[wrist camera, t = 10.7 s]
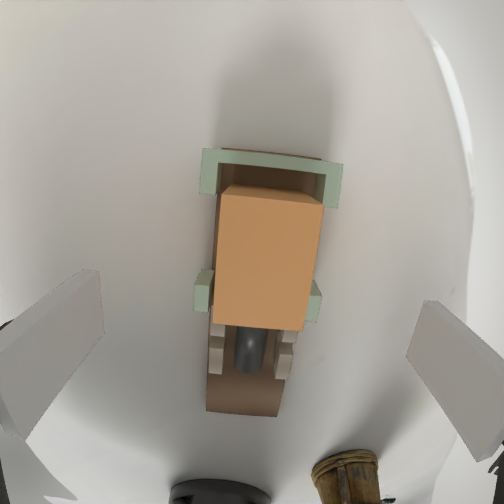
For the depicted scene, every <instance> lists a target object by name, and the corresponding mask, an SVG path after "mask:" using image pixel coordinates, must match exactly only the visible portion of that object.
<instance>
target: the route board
mask: <svg viewBox="0 0 504 504" xmlns="http://www.w3.org/2000/svg"><path fill="white" fill-rule="evenodd" d="M221 150H233V151H245V152H255V153H265V154H274V155H283V156H291V157H298V158H306V159H313V160H320V161H321V159H318V158H311V157H304V156H297V155H289V154H281V153H272V152H263V151H253V150H242V149H231V148H222V149H221ZM316 176H317V173H312V172H305V171H297V170H289V169H281V168H272V167H263V166H253V165H243V164H232V163H223V168H222V179H221V190H220V191H219V192H218V193H217V205H216V218H215V231H214V246H213V261H212V270H215V271H214V287H213V297H212V300H211V303H210V315H209V337H208V365H207V403H206V411H210V412H219V413H228V414H239V415H252V416H268V417H277V414H278V410H279V406H280V401H281V397H282V392H283V388H284V383H285V379H286V380H288V378H289V373H290V368H291V364H292V359H293V350H292V344H293V343H296V340H297V334H298V331H294V330H280V329H268V334H267V341H266V347H265V354H264V360H263V367H262V369H261V370H260V371H258V372H255V373H244V372H241V371H239V370H237V369H236V368H235V367H234V364H233V362H234V351H235V340H236V329H237V326H234V325H225V324H215V323H213V305H214V289H215V273H216V258H217V244H218V231H219V218H220V206H221V194H222V193H223V192H224V191H225V190H226V189H227V188H228V187H229V186H230V185H231V184H243V185H253V186H263V187H272V188H281V189H289V190H298V191H303V192H305V193H306V194H308V195H309V196H311V197H312V198H314V192H315V184H316Z"/></svg>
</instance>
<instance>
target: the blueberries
mask: <svg viewBox="0 0 504 504" xmlns="http://www.w3.org/2000/svg"><path fill="white" fill-rule="evenodd" d="M395 500H396V499H395V498H394V499H383V500H381V504H392V503H394V501H395Z"/></svg>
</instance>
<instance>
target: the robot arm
mask: <svg viewBox="0 0 504 504" xmlns="http://www.w3.org/2000/svg"><path fill="white" fill-rule="evenodd" d="M104 333H105V332H104V324H103V315H102V305H101V294H100V281H99V272H98V271H91V270H84V269H82V270H81V271H80V272H78V273H77V274H75V275H74V276H72V277H71V278H70V279H68V280H67V281H65V282H64V283H62V284H61V285H60V286H58V287H57V288H56V289H54V290H53V291H51V292H50V293H49V294H47V295H46V296H45V297H43V298H42V299H40V300H39V301H38V302H36V303H35V304H34V305H32V306H31V307H30V308H29V309H27V310H26V311H25V312H23V313H22V314H21V315H19V316H18V317H17V318H16V319H13V320H11V321H9V322H6V323H4V324H3V325H2V326H1V327H0V423H1V425H2V427H3V429H4V431H5V432H6V433H7V434H9V435H11V436H13V437H15V438H17V439H19V440H21V441H23V442H25V440H26V439H27V437H28V436H29V434H30V433H31V431H32V430H33V428H34V427H35V426H36V424H37V423H38V421H39V420H40V418H41V417H42V416H43V414H44V413H45V411H46V410H47V408H48V407H49V406H50V404H51V403H52V401H53V400H54V399H55V397H56V396H57V395H58V393H59V392H60V390H61V389H62V388H63V386H64V385H65V384H66V382H67V381H68V380H69V378H70V377H71V376H72V374H73V373H74V372H75V370H76V369H77V368H78V366H79V365H80V364H81V362H82V361H83V360H84V358H85V357H86V356H87V355H88V353H89V352H90V351H91V349H92V348H93V347H94V346H95V344H96V343H97V342H98V341H99V339H100V338H101V337H102V335H103V334H104ZM406 358H407V359H408V360H409V362H410V363H411V364H412V366H413V367H414V369H415V370H416V371H417V373H418V374H419V376H420V377H421V379H422V380H423V381H424V383H425V384H426V386H427V387H428V389H429V390H430V391H431V393H432V394H433V396H434V397H435V399H436V400H437V402H438V403H439V405H440V406H441V408H442V409H443V411H444V412H445V414H446V415H447V417H448V418H449V420H450V421H451V423H452V424H453V426H454V427H455V429H456V430H457V432H458V433H459V435H460V436H461V438H462V440H463V441H464V443H465V444H466V446H467V448H468V449H469V451H470V452H471V454H472V456H473V457H474V459H475V460H476V462H479V461H482V460H484V459H487V458H489V457H491V456H493V454H494V453H495V452H496V450H497V449H498V448H499V446H500V445H501V444H503V445H504V359H503V358H502V357H501V356H499V354H498V353H497V352H495V351H494V350H493V349H492V348H491V347H490V346H489V345H487V343H485V342H484V341H483V340H482V339H481V338H480V337H479V336H478V335H477V334H475V333H474V332H473V331H472V330H471V329H470V328H469V327H468V326H466V325H465V324H464V323H463V322H462V321H461V320H460V319H458V318H457V317H456V316H455V315H454V314H453V313H451V312H450V311H449V310H448V309H447V308H445V307H444V306H443V305H442V304H441V303H439V302H438V301H424V303H423V306H422V309H421V313H420V316H419V319H418V322H417V325H416V328H415V331H414V334H413V337H412V340H411V343H410V346H409V349H408V351H407V354H406ZM496 466H499V468H498V469H497V470H496V471H495V473H494V474H495V475H498V476H497V483H496V489H495V495H494V500H493V504H504V451H503V452H502V453H501V455H500V456H499V457H498V459H497V460H496V461H495V462H494V463H493V465H492V466H491V467H490V469H489V471H488V473H491V472H492V471H493V469H494V468H495V467H496ZM0 504H10V502H9V498H8V494H7V490H6V485H5V481H4V477H3V471H2V466H1V461H0ZM169 504H271V502H270V498H269V497H268V496H267V495H266V494H265V493H264V492H262V491H261V490H259V489H256V488H254V487H251V486H248V485H245V484H241V483H236V482H230V481H223V480H192V481H186V482H183V483H180V484H177V485H176V486H174V487H173V488H172V490H171V493H170V498H169Z"/></svg>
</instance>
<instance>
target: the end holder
mask: <svg viewBox="0 0 504 504" xmlns="http://www.w3.org/2000/svg"><path fill="white" fill-rule="evenodd" d="M223 163H232V164H243V165H253V166H263V167H272V168H281V169H289V170H297V171H305V172H312V173H317V176H316V184H315V192H314V199H315V200H317V201H318V202H320V203H321V204H323V205H324V207H331V208H338V201H339V194H340V186H341V179H342V171H343V164H339V163H333V162H326V161H320V160H313V159H306V158H298V157H291V156H283V155H274V154H265V153H255V152H245V151H233V150H221V149H206V148H203V153H202V164H201V176H200V189H199V194H210V195H216V194H217V193H218V192H219V191H220V190H221V179H222V168H223ZM214 271H215V270H205V269H201V271H200V273H199V275H198V277H197V280H196V282H195V284H194V309H193V311H198V312H206V313H208V310H209V307H210V303H211V300H212V297H213V287H214ZM321 300H322V295H321V293H320V291H319V288H318V286H317V284H316V282H315V280H312V284H311V289H310V295H309V300H308V306H307V311H306V316H305V321H307V322H317V319H318V314H319V310H320V305H321Z"/></svg>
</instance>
